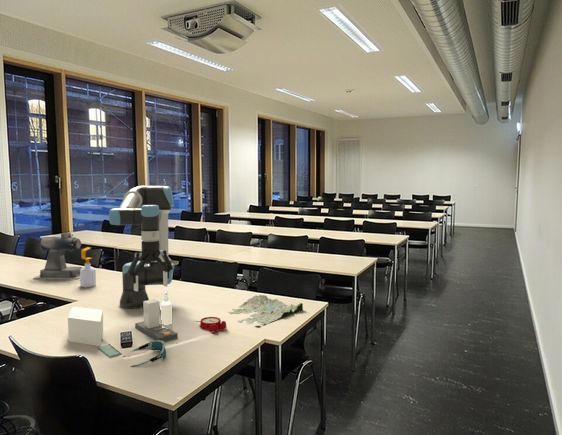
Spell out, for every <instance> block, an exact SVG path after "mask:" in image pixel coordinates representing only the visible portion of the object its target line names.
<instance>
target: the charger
mask: <svg viewBox="0 0 562 435" xmlns="http://www.w3.org/2000/svg"><path fill="white" fill-rule="evenodd" d="M142 309H143V321H144V326H145V327H147V328H153V327H157V326H159V324H160V301H159V300H156V299H154V298H153V299H149V300H147V301H143V307H142Z"/></svg>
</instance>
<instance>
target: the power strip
mask: <svg viewBox="0 0 562 435" xmlns="http://www.w3.org/2000/svg"><path fill="white" fill-rule="evenodd" d="M134 323H135V322H134ZM162 325H163V324H162V323H159V326H157V327H153V328H147V327H145V326H144V320H143V321H140V322H139V321H138V322H136V323H135V324H134V326H135V327H134V328H135V329H137V330H138V331H140V332H142V333H144V334H145V335H147V336H148V337H150V338H151V339H153V340H154V341H155V340H160V341H164V343H165V342H169V341H173V340H175V339H178V338H179V336H178V332H176V331H174V330H173V329H170V328H169V329H166V328H162Z"/></svg>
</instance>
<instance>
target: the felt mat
mask: <svg viewBox="0 0 562 435" xmlns="http://www.w3.org/2000/svg"><path fill="white" fill-rule="evenodd" d="M97 347H98V349H99V350H100V351H101V352H102V353H104V354H105V356H107V357H108V358H113V357H117V356H121V355H123V353H122V352H120V351H119V350H118V349H117V348H115V347H114V346H112V344H109V343H108V344H104V345H101V346H97Z"/></svg>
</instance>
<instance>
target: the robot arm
mask: <svg viewBox="0 0 562 435" xmlns="http://www.w3.org/2000/svg"><path fill="white" fill-rule="evenodd" d="M174 204H175V203H174V197H173V191H172V188H171V187H170V186H167V185H138V186H136V187H135V186H134V187H133V188H131V189H128V190H127V191H126V192H125V194H123V196H122V202H121V203H120V206H119V207H116V208H110V209H109V211H108V212H109V213H108V217H109V218H108V221H109V224H110V225H112V226H114V225H115V226H140V227H141V230H140V232H141V235H140V236H141V240H142V241H141V252H134V254H133V259H132V261H131V262H127V263H125V264H124V265H122V273H121V274H122V293H121V296H120V299H119V307H120V308H124V309H137V308H138V309H139V308H143V301H147V300H150V298H149V296H148V292H147V290H146V286H161V285H162V286H163V287H168V285H170V284H171V283H172V282H173V275H174V274H173V273H174V269H175V263H174V262H172V259H171V257H169V213H170V212H171V211H172V208H174V206H175V205H174ZM141 257H142V258H141ZM140 258H141V259H140ZM139 259H140V260H139Z"/></svg>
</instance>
